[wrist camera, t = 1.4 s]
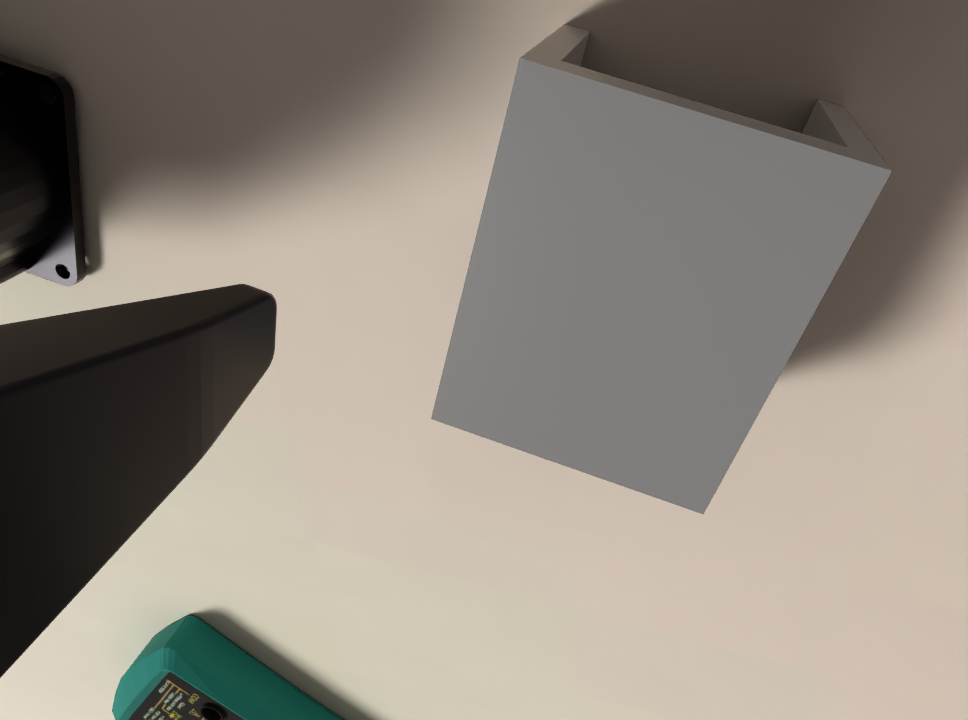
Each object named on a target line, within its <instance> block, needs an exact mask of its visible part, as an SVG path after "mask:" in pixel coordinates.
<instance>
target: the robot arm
mask: <svg viewBox="0 0 968 720" xmlns="http://www.w3.org/2000/svg"><path fill="white" fill-rule="evenodd" d="M50 87H51V88H52V89H53V91H54V93H55V96H56V99H55V98H54V97H53V96H52V94H51V92H50V89H49V88H50ZM65 266H66V267H67V268H68V270H69V271H68V270H67V269H66V267H65ZM22 272H27V273H30V274H33V275H35V276H38V277H41V278H44V279H47V280H50V281H53V282H55V283H58V284H61V285H64V286H72V285H74V284H76V283H78V282H80V281H81V280H83V279H84V277H85V275H86V264H85V250H84V235H83V220H82V205H81V191H80V176H79V161H78V147H77V132H76V117H75V102H74V94H73V90H72V88H71V86H70V84H69V82H68V81H67V80H66V79H65V78H64V77H63V76H61V75H59V74H57V73H55V72H52V71H49V70H46V69H43V68H40V67H37V66H33V65H30V64H27V63H24V62H21V61H18V60H15V59H12V58H9V57H6V56H3V55H0V284H1V283H3V282H5V281H7V280H9V279H11V278H13V277H15V276H17V275H18V274H20V273H22ZM276 312H277V305H276V300H275V298H274V297H273V295H272V294H270V293H268V292H265V291H263V290H260V289H257V288H255V287H252V286H249V285H246V284H238V285H232V286H226V287H220V288H214V289H209V290H203V291H197V292H191V293H185V294H179V295H174V296H168V297H162V298H156V299H150V300H144V301H138V302H133V303H127V304H121V305H115V306H109V307H103V308H97V309H92V310H86V311H80V312H74V313H68V314H62V315H56V316H51V317H45V318H39V319H33V320H27V321H21V322H15V323H10V324H4V325H0V678H1V677H2V676H3V674H4V673H5V672H6V671H7V670H8V669H9V668H10V667H11V666H12V665H13V664H14V662H15V661H16V660H17V659H18V658H19V657H20V656H21V655H22V654H23V653H24V652H25V651H26V649H27V648H28V647H29V646H30V645H31V644H32V643H33V642H34V641H35V640H36V639H37V637H38V636H39V635H40V634H41V633H42V632H43V631H44V630H45V629H46V628H47V627H48V626H49V624H50V623H51V622H52V621H53V620H54V619H55V618H56V617H57V616H58V615H59V614H60V612H61V611H62V610H63V609H64V608H65V607H66V606H67V605H68V604H69V603H70V602H71V601H72V599H73V598H74V597H75V596H76V595H77V594H78V593H79V592H80V591H81V590H82V589H83V587H84V586H85V585H86V584H87V583H88V582H89V581H90V580H91V579H92V578H93V577H94V576H95V574H96V573H97V572H98V571H99V570H100V569H101V568H102V567H103V566H104V565H105V564H106V563H107V561H108V560H109V559H110V558H111V557H112V556H113V555H114V554H115V553H116V552H117V551H118V549H119V548H120V547H121V546H122V545H123V544H124V543H125V542H126V541H127V540H128V539H129V538H130V536H131V535H132V534H133V533H134V532H135V531H136V530H137V529H138V528H139V527H140V526H141V524H142V523H143V522H144V521H145V520H146V519H147V518H148V517H149V516H150V515H151V514H152V513H153V511H154V510H155V509H156V508H157V507H158V506H159V505H160V504H161V503H162V502H163V501H164V499H165V498H166V497H167V496H168V495H169V494H170V493H171V492H172V491H173V490H174V489H175V488H176V486H177V485H178V484H179V483H180V482H181V481H182V480H183V479H184V478H185V477H186V476H187V475H188V473H189V472H190V471H191V470H192V469H193V468H194V467H195V465H196V464H197V463H198V462H199V461H200V460H201V459H202V457H203V456H204V455H205V454H206V452H207V451H208V450H209V449H210V447H211V446H212V445H213V443H214V442H215V441H216V439H217V438H218V437H219V435H220V434H221V432H222V431H223V430H224V428H225V427H226V426H227V424H228V423H229V421H230V420H231V419H232V417H233V416H234V415H235V413H236V412H237V410H238V409H239V408H240V406H241V405H242V404H243V402H244V401H245V400H246V398H247V397H248V395H249V394H250V393H251V391H252V390H253V389H254V387H255V386H256V384H257V383H258V382H259V380H260V379H261V378H262V376H263V375H264V373H265V372H266V371H267V369H268V368H269V366H270V364H271V361H272V359H273V355H274V350H275V332H276Z"/></svg>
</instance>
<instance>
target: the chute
mask: <svg viewBox="0 0 968 720" xmlns="http://www.w3.org/2000/svg"><path fill="white" fill-rule="evenodd" d="M589 35H590V31H587V30H583V29H580V28H577V27H573V26H570V25H566V24H564V25H563V26H562V27H560V28H559V29H558V30H556V31H555V32H554V33H552V34H551V35H550V36H548V37H547V38H546V39H544V40H543V41H542V42H541V43H539V44H538V45H537V46H535V47H534V48H533V49H531V50H530V51H529V52H527V53H526V54H525V55H523V56H522V57H521V58H520V60H519V64H518V68H517V72H516V76H515V81H514V85H513V89H512V93H511V97H510V101H509V105H508V109H507V113H506V117H505V121H504V125H503V129H502V133H501V137H500V141H499V145H498V150H497V154H496V158H495V162H494V166H493V170H492V174H491V178H490V182H489V186H488V190H487V194H486V198H485V202H484V206H483V210H482V215H481V219H480V223H479V227H478V231H477V235H476V239H475V243H474V247H473V251H472V255H471V259H470V263H469V267H468V271H467V275H466V280H465V284H464V288H463V292H462V296H461V300H460V304H459V308H458V312H457V316H456V320H455V324H454V328H453V332H452V336H451V340H450V345H449V349H448V353H447V357H446V361H445V365H444V369H443V373H442V377H441V381H440V385H439V389H438V393H437V397H436V401H435V405H434V410H433V414H432V418H431V419H433V420H436V421H439V422H442V423H444V424H447V425H450V426H453V427H456V428H459V429H462V430H464V431H467V432H470V433H473V434H476V435H479V436H481V437H484V438H487V439H490V440H493V441H496V442H499V443H501V444H504V445H507V446H510V447H513V448H516V449H519V450H521V451H524V452H527V453H530V454H533V455H536V456H538V457H541V458H544V459H547V460H550V461H553V462H556V463H558V464H561V465H564V466H567V467H570V468H573V469H576V470H578V471H581V472H584V473H587V474H590V475H593V476H596V477H598V478H601V479H604V480H607V481H610V482H613V483H615V484H618V485H621V486H624V487H627V488H630V489H633V490H635V491H638V492H641V493H644V494H647V495H650V496H653V497H655V498H658V499H661V500H664V501H667V502H670V503H672V504H675V505H678V506H681V507H684V508H687V509H690V510H692V511H695V512H698V513H701V514H704V512H705V510H706V508H707V507H708V505H709V503H710V501H711V499H712V498H713V496H714V494H715V492H716V490H717V488H718V487H719V485H720V483H721V481H722V479H723V478H724V476H725V474H726V472H727V470H728V468H729V467H730V465H731V463H732V461H733V459H734V458H735V456H736V454H737V452H738V450H739V449H740V447H741V445H742V443H743V441H744V439H745V438H746V436H747V434H748V432H749V430H750V429H751V427H752V425H753V423H754V421H755V419H756V418H757V416H758V414H759V412H760V410H761V409H762V407H763V405H764V403H765V401H766V399H767V398H768V396H769V394H770V392H771V390H772V389H773V387H774V385H775V383H776V381H777V379H778V378H779V376H780V374H781V372H782V370H783V369H784V367H785V365H786V363H787V361H788V359H789V358H790V356H791V354H792V352H793V350H794V349H795V347H796V345H797V343H798V341H799V339H800V338H801V336H802V334H803V332H804V330H805V329H806V327H807V325H808V323H809V321H810V319H811V318H812V316H813V314H814V312H815V310H816V309H817V307H818V305H819V303H820V301H821V299H822V298H823V296H824V294H825V292H826V290H827V289H828V287H829V285H830V283H831V281H832V279H833V278H834V276H835V274H836V272H837V270H838V269H839V267H840V265H841V263H842V261H843V259H844V258H845V256H846V254H847V252H848V250H849V249H850V247H851V245H852V243H853V241H854V239H855V238H856V236H857V234H858V232H859V230H860V229H861V227H862V225H863V223H864V221H865V220H866V218H867V216H868V214H869V212H870V210H871V209H872V207H873V205H874V203H875V201H876V200H877V198H878V196H879V194H880V192H881V190H882V189H883V187H884V185H885V183H886V181H887V180H888V178H889V176H890V174H891V172H892V170H891V168H890V167H889V166H888V164H887V163H886V162H885V160H884V159H883V158H882V157H881V155H880V154H879V153H878V151H877V150H876V149H875V147H874V146H873V145H872V143H871V142H870V141H869V139H868V138H867V137H866V135H865V134H864V133H863V131H862V130H861V129H860V127H859V126H858V125H857V123H856V122H855V121H854V119H853V118H852V117H851V115H850V114H849V113H848V111H847V110H846V109H845V107H842V106H839V105H835V104H832V103H829V102H825V101H822V100H819V99H817V101H816V103H815V105H814V108H813V110H812V112H811V114H810V116H809V118H808V120H807V123H806V125H805V127H804V129H803V131H802V133H799V132H795V131H792V130H789V129H785V128H782V127H779V126H776V125H772V124H769V123H766V122H762V121H759V120H756V119H752V118H749V117H746V116H742V115H739V114H736V113H732V112H729V111H726V110H723V109H719V108H716V107H713V106H709V105H706V104H703V103H699V102H696V101H693V100H689V99H686V98H683V97H680V96H676V95H673V94H670V93H666V92H663V91H660V90H656V89H653V88H650V87H646V86H643V85H640V84H636V83H633V82H630V81H627V80H623V79H620V78H617V77H613V76H610V75H607V74H603V73H600V72H597V71H593V70H590V69H587V68H584V67H580V66H581V62H582V59H583V55H584V52H585V48H586V45H587V41H588V38H589Z"/></svg>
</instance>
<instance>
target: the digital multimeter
mask: <svg viewBox="0 0 968 720" xmlns="http://www.w3.org/2000/svg"><path fill="white" fill-rule="evenodd" d="M112 712H113V714H114V717H115V720H344V719H342V718H341V717H339V716H338V715H336V714H335V713H333V712H332V711H330V710H329V709H327V708H326V707H324V706H323V705H321V704H320V703H318V702H316V701H315V700H313V699H312V698H310V697H309V696H308V695H306V694H305V693H303V692H302V691H301V690H299V689H298V688H296V687H295V686H293V685H292V684H291V683H289V682H288V681H286V680H285V679H284V678H282V677H281V676H279V675H278V674H276V673H275V672H274V671H272V670H271V669H269V668H268V667H267V666H265V665H264V664H262V663H261V662H259V661H258V660H256V659H255V658H253V657H252V656H251V655H249V654H248V653H246V652H245V651H244V650H242V649H241V648H240V647H238V646H237V645H235V644H234V643H233V642H231V641H230V640H229V639H227V638H226V637H225V636H223V635H222V634H220V633H219V632H218V631H216V630H215V629H214V628H212V627H211V626H210V625H208V624H207V623H205V622H204V621H202V620H201V619H199V618H197V617H195V616H186V617H184V618H182V619H180V620H178V621H176V622H175V623H173V624H171V625H169V626H167V627H166V628H165V629H163V630H162V631H160V632H159V633H158V634H156V635H155V636H154V637H153V638H152V639H151V641H150V642H149V643H148V645H147V646H146V647H145V648H144V650H143V651H142V652H141V654H140V655H139V656H138V657H137V659H136V660H135V661H134V663H133V664H132V665H131V666H130V668H129V669H128V670H127V672H126V673H125V674H124V675H123V677H122V678H121V680H120V682H119V685H118V688H117V690H116V693H115V698H114V703H113V709H112Z"/></svg>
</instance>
